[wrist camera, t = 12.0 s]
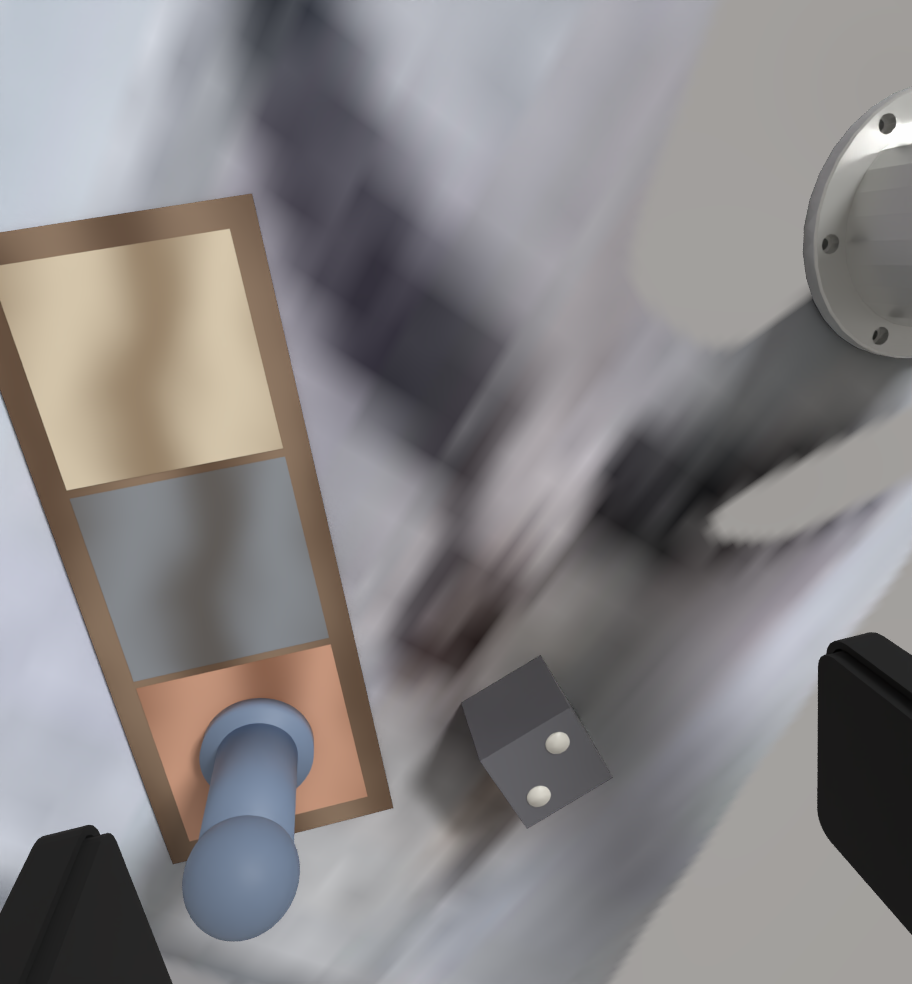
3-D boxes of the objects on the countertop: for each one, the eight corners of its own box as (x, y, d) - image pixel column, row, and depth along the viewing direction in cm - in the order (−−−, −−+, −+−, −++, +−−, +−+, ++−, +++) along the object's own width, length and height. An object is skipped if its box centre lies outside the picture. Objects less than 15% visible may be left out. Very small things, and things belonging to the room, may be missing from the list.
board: (252, 194, 31) (251, 193, 30) (392, 806, 41) (393, 808, 41) (-52, 240, 29) (-55, 240, 29) (173, 861, 40) (172, 864, 39)
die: (540, 654, 40) (570, 708, 35) (579, 718, 42) (613, 778, 37) (460, 701, 40) (480, 762, 35) (503, 764, 42) (527, 829, 37)
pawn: (300, 686, 38) (293, 846, 27) (324, 775, 39) (325, 956, 29) (189, 712, 37) (139, 886, 27) (218, 801, 39) (181, 996, 29)
